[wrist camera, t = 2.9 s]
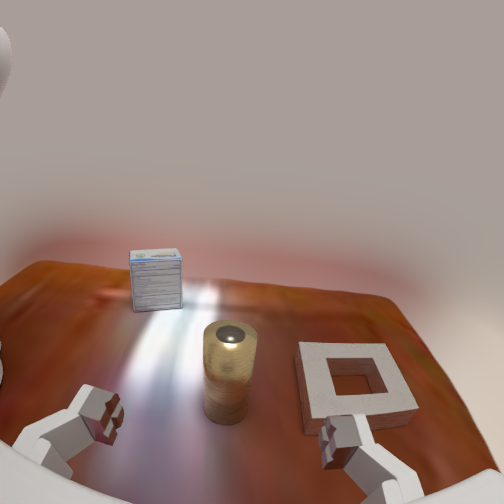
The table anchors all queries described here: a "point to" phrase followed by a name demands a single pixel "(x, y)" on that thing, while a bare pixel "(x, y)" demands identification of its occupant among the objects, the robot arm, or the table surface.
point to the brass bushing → (227, 370)
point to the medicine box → (156, 279)
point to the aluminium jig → (372, 405)
